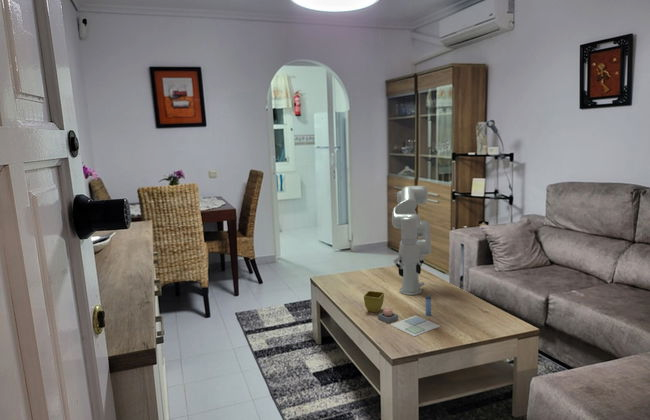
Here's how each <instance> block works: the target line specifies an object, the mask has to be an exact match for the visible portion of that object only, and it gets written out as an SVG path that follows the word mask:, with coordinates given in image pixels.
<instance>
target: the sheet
mask: <svg viewBox="0 0 650 420" xmlns="http://www.w3.org/2000/svg"><path fill="white" fill-rule="evenodd" d="M389 324H390V323H389ZM390 326H391V327H393V328H395V329H398V330H400V331H401V332H404V333H406V334H407V335H409V336H411V337H413V338H415V337H418V336H420V335H422V334H425V333H427V332H430V331H432V330H434V329H437V328H439V327H441V325H440V324H437V323H435V322H432V321H431V320H428V319H425V318H423V317H421V316H418V315H412V316H410V317H408V318H407V317H406V318H405V319H402V320H398V321H397V322H392V323H391V324H390Z"/></svg>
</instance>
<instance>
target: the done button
mask: <svg viewBox="0 0 650 420" xmlns="http://www.w3.org/2000/svg"><path fill="white" fill-rule="evenodd" d="M383 313H384V316H388V317H389V316H392V315H393V313H394V311H393V309H392V308H391V307H385V308H383Z"/></svg>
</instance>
